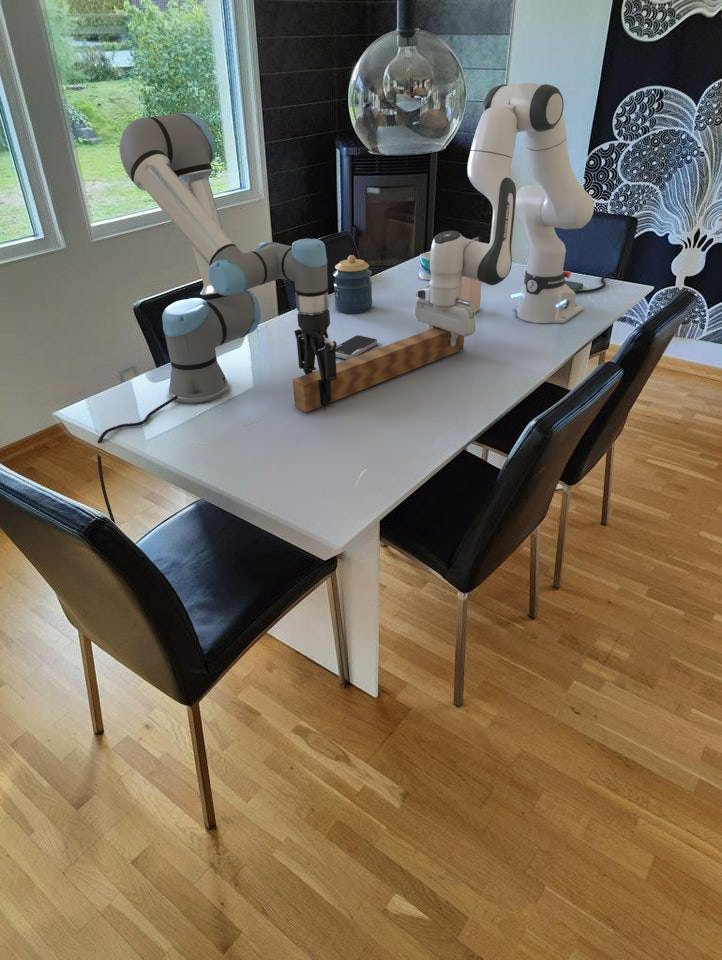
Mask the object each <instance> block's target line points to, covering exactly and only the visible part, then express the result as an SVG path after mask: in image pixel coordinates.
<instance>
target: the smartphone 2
mask: <svg viewBox="0 0 722 960" xmlns="http://www.w3.org/2000/svg"><path fill="white" fill-rule="evenodd" d="M565 284H566V285H567V286H568V287H570V288H571V289H572V290H573V291H579V290H582V288H584V283H583V282H576V281H572V280H571V281H570V280H565Z"/></svg>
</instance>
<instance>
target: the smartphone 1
mask: <svg viewBox="0 0 722 960" xmlns="http://www.w3.org/2000/svg"><path fill="white" fill-rule="evenodd" d="M377 345H378V339H377V338H373V337H369V336H363V335H360V334H359V335H355V336H353V337H351V338H349V339H347V340H345V341H343V342H342V343H340V344H337V345H336V350H335V353H336V358H338V359H339V358H340V359H343V360H348V359H350V358H353V357H356V356H359V355H361V354H363V353H364V352H366V351H368V350H369V349H372V348H373V347H375V346H377Z"/></svg>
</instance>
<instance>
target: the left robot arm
mask: <svg viewBox="0 0 722 960" xmlns="http://www.w3.org/2000/svg"><path fill="white" fill-rule="evenodd" d="M215 140H216V139H215V137H214V134H213V131H212V130H211V128H210V127H209V125H208V123H206V122H205V120H204V119H202V118H201V117H200V116H198V114H197V115H196V114H194V113H182V112H177V113H171V114H163V115H155V116H143V117H139V118H136V119H134V120H132V121H131V122H129V123H128V124H127V126H126V127H125V128H124V129H123V131H122V133H121V136H120V139H119V147H118V148H119V157H120V161H121V164H122V167H123V169H124V171H125V173H126V174H127V176H128V177H129V179H130V180H131V182H132V183H133V184H134V185H135V187H136V188H138V189H139V190H141V191H145V192H147V194H148V195H149V196H150V198H152V200H153V201H154V202H155V203H156V205H157V206H158V207H159V208H160V209H161V211H163V213H164V214H165V215H166V216H167V218H169V220H170V221H171V222H172V223H173V225H174V226H175V227H176V228H177V229H178V231H179V232H180V233H181V235H183V237H185V239H186V240H187V241H188V242H189V244H190V245H191V247H192V251H193V254H194V257H195V260H196V264H197V267H198V270H199V271H198V272H199V274H200V278H201V280H202V284H203V287H202V290H201V291H200V297H201V298H199V297H190V298H188V299H185V298H184V299H180V300H177V301H175V302H173V303H171V304H170V305H168V306H166V308H164V310H163V312H162V316H161V318H162V330H163V333H164V337H165V342H166V345H167V352H168V356H169V361H170V367H171V369H170V370H171V371H170V377H169V386H168V393H169V397H170V399H168V400H167V401H165V402H164V403H162V404H160V405H158V406H157V407H156V408H154V409H153V410H151V411H150V412H149V413H147V415H146V416H145V418H144V419H143V420H141V421H137V422H130V423H129V422H128V423H122V424H118V425H115V426H112V427H109V428H107V429H106V430H104V431H103V432H102V433H101V435H100V436H99V438H98V440H97V444H101V443H102V442H103V440H104V438H105V436H106V435H107V434H108V433H110V432H113V431H116V430H119V429H123V428H129V427H130V428H131V427H139V426H142V425H144V424H146V423H147V422H148V421H149V419H150V418H151V417H152V416H153V415H154V414H155V413H157V412H158V411H160V410H161V409H163V408H165V407H166V406H168V405H169V404H171V403H173V402H174V401H175V402H177V403H180V404H188V405H189V404H190V405H196V404H197V405H198V404H204V403H208V402H212V401H214V400H217V399H219V398H221V397H223V396H224V395H225V394H227V392H228V391H229V383H228V379H227V378H226V375H225V374H224V372H223V370H222V368H221V366H220V363H219V362H218V358H217V352H216V348H218V347H220V346H223V345H225V344H228V343H231V342H232V341H235V340H237V339H243V338H245V337H246V336H248V335H249V334H251V333H254V332H255V331H256V330H257V328H258V327H259V324H260V322H261V317H262V316H261V315H262V312H261V311H262V310H261V304H260V302H259V299H258V298H257V296H255V293H254V292H253V291H252V290H251V289H253V288H255V287H259V286H263V285H266V284H268V283H271V282H274V281H277V280H285V281H289V282H294V290H295V293H294V294H295V304H296V305H295V306H296V311H297V312H296V314H297V316H296V317H297V327H298V329H295V330H294V336H295V339H296V348H297V349H296V350H297V360H298V368H299V369H300V370H301V369H302V370H303V373H304V375H306V374H309V373H312V372H315V371H317V368H316V367H315V364H316V361H317V366H318V370H319V371H320V376H321V380H319V386H320V401H321V405H322V406H321V407H325V406H326V405H328V404H331V403H332V402H331V381H332V380H335V379H336V378H337V374H336V364H337V357H336V353H335V350H336V346H338V343H337V341H336V340H333V341H332V340H331V339H330V338H329V333H328V328H329V327H330V325H331V317H330V310H329V308H330V300H329V286H328V285H329V284H328V283H329V281H328V258H327V250H326V245H325V243H324V241H322V240H320V239H318V238H301V239H297V240H295V241H293V242H292V244H291V245H286V244H283V243H279V242H276V241H262V242H260V243H258V244H257V246H255V248H254V249H253V250H251V251H247V252H242V250H241V249H240V248H239V247H238V245H236V244H235V243H234V241H233V240H232V239H231V238H230V237H229V236H228V235H227V233H226V232H225V231H224V229H223V226H222V222H221V219H220V214H219V211H218V208H217V204H216V201H215V197H214V194H213V191H212V186H211V184H210V180H209V179H210V176H211V175H212V173H213V167H212V165H211V164H212V162H214V160H215V158H216V151H217V145H216V141H215ZM101 456H102V455H99V454H96V458H97V467H98V476H99V482H100V487H101V491H102V495H103V499H104V503H105V505H106V506H105V507H106V509H107V513H108V515H109V519H110V521H111V520H112V521H113V522H114V523H115V524H116V520H115V517H114V514H113V511H112V508H111V504H110V502H109V501H110V500H109V498H108V493H107V490H106V484H105V479H104V474H103V473H104V472H103V465H102V457H101Z"/></svg>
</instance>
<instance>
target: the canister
mask: <svg viewBox="0 0 722 960" xmlns="http://www.w3.org/2000/svg"><path fill="white" fill-rule="evenodd" d="M369 267H370V264H369V263H368V262H366V261H365V260H363V259H359V258H357V257H356V256H355V255H354V254H350V255H349V256H348V257H347V259H343V260H341V261H339V263H337V264H336V265H335V266H334V268H335V269H336V270H334V271H333V273H332V275H333V277H334V281H333V287H334V289H333V290H334V306H335V310H337V312H340V313H345V314H359V313H364V312H367V311H369V310H371V309H372V308H373V291H372V290H373V288H372V286H373V282H372V280H371V276H372V274H373V272H372V270H371V269H369Z"/></svg>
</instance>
